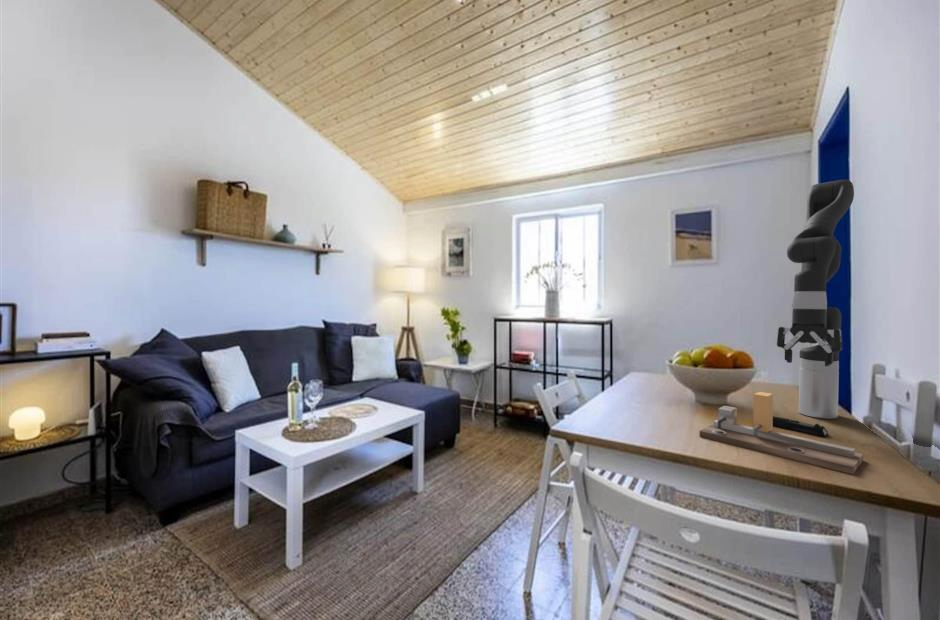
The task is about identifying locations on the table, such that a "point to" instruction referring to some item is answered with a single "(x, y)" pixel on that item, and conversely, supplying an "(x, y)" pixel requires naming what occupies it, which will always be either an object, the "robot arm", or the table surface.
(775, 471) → the table surface
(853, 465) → the bolt plate
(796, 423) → the electric trimmer
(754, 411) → the block
